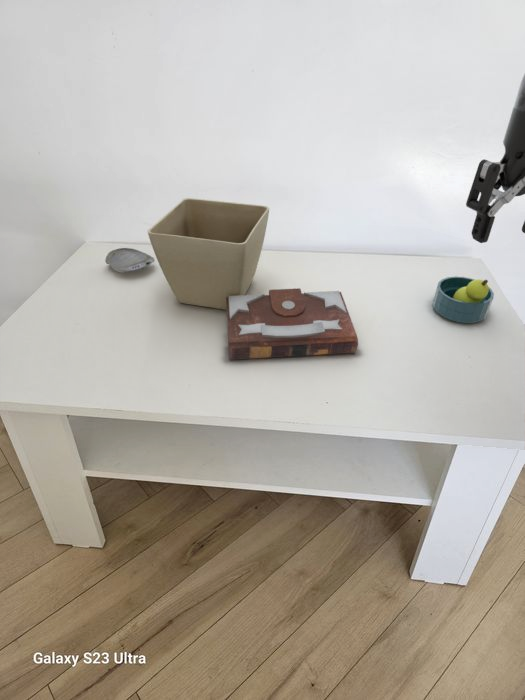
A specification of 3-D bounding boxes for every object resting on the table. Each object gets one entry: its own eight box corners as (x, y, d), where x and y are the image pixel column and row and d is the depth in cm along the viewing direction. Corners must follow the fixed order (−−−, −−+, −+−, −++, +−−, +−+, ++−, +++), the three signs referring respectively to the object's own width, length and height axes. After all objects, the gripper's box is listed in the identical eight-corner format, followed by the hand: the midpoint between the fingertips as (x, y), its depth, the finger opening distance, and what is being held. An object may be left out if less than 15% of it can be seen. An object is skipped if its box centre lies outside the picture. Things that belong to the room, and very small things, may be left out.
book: (229, 364, 82) (228, 344, 79) (226, 310, 94) (225, 290, 90) (355, 357, 84) (359, 337, 81) (337, 305, 95) (340, 285, 92)
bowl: (493, 309, 95) (501, 288, 92) (473, 332, 89) (481, 310, 86) (445, 291, 101) (451, 271, 98) (422, 311, 95) (428, 290, 92)
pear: (477, 308, 95) (505, 282, 87) (463, 323, 93) (491, 297, 85) (456, 291, 96) (482, 264, 88) (442, 305, 94) (468, 278, 86)
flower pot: (191, 266, 109) (184, 196, 99) (269, 276, 106) (270, 205, 95) (157, 309, 95) (145, 232, 84) (246, 323, 91) (244, 244, 81)
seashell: (97, 276, 105) (92, 256, 102) (114, 259, 112) (110, 240, 109) (146, 281, 104) (143, 261, 100) (160, 264, 110) (157, 245, 107)
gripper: (525, 114, 50) (480, 254, 59) (622, 109, 53) (566, 241, 63) (477, 103, 55) (444, 233, 65) (569, 99, 59) (524, 222, 69)
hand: (504, 237), depth 64 cm, fingers open, 8 cm apart
